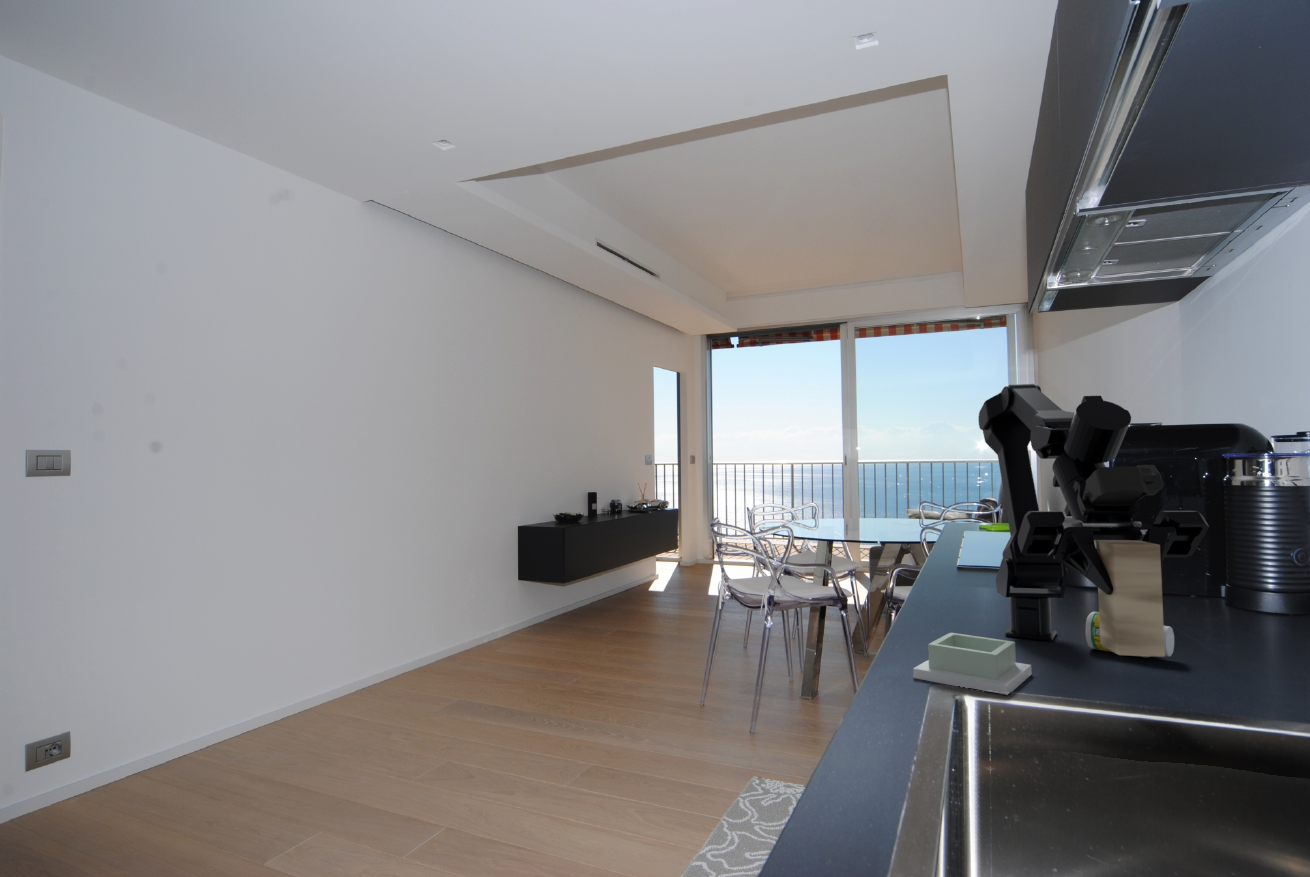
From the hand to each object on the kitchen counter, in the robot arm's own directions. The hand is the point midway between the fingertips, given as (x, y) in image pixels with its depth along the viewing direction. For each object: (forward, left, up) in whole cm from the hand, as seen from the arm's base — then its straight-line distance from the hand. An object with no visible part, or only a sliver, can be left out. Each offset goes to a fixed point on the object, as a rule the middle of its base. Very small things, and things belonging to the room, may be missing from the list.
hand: (1135, 593), depth 76 cm
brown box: (-1, -1, -7) cm, 7 cm away
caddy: (-3, -18, -13) cm, 22 cm away
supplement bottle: (-27, -6, -10) cm, 30 cm away
